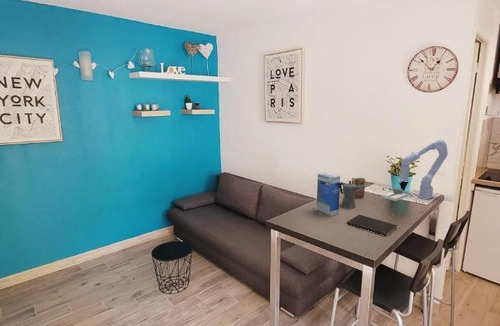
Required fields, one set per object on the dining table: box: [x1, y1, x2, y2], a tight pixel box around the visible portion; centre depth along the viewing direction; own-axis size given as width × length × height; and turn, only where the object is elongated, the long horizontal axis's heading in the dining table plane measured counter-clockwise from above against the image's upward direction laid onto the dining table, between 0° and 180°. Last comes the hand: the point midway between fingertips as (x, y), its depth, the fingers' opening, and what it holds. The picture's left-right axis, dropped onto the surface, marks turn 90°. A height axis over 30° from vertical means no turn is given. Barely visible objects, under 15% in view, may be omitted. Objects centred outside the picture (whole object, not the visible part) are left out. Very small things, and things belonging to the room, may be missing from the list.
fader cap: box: [392, 187, 404, 194], centre depth 220 cm, size 4×5×4 cm
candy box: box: [351, 177, 366, 199], centre depth 217 cm, size 9×4×15 cm, turn 98°
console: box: [380, 190, 408, 202], centre depth 218 cm, size 17×11×2 cm, turn 125°
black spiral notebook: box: [346, 214, 399, 237], centre depth 168 cm, size 16×23×2 cm
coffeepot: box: [340, 180, 358, 209], centre depth 201 cm, size 15×9×18 cm, turn 33°
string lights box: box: [316, 171, 341, 217], centre depth 188 cm, size 13×8×26 cm, turn 32°
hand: (402, 190), depth 224 cm, fingers closed
